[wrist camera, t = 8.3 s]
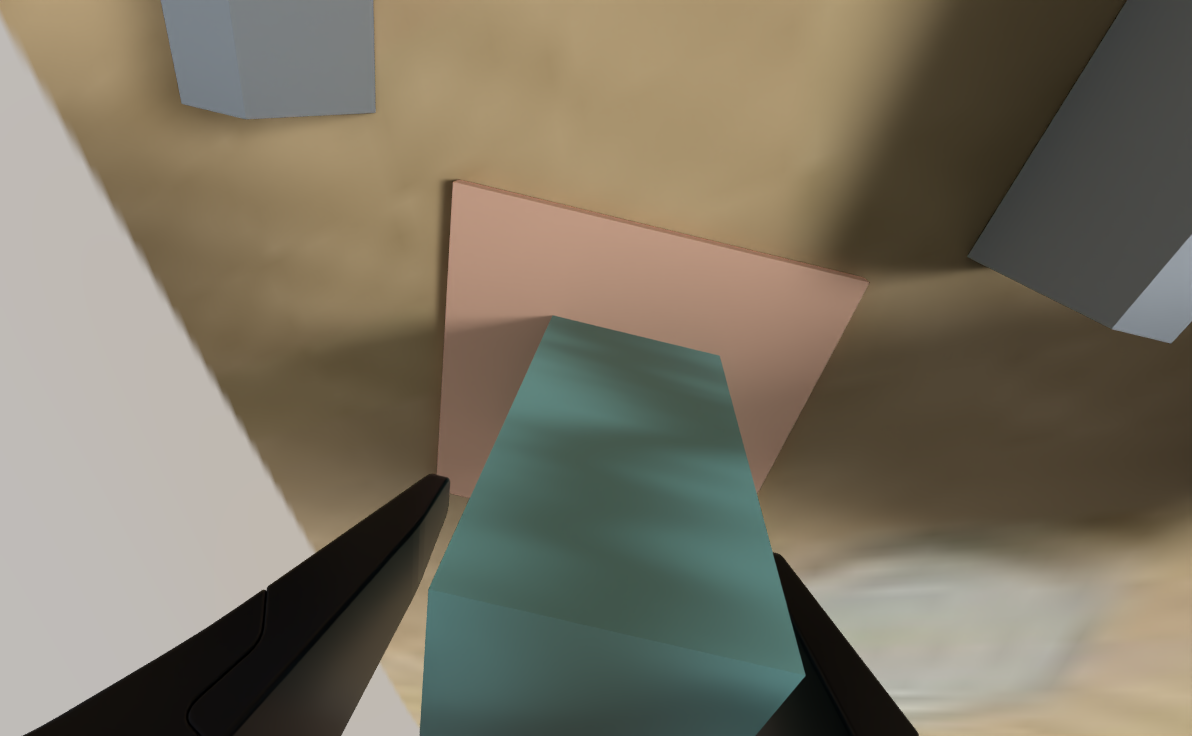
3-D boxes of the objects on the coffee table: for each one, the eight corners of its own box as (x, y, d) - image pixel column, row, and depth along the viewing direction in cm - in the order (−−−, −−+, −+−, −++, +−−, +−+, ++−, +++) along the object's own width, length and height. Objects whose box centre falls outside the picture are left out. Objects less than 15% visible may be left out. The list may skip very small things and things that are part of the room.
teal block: (719, 355, 12) (805, 675, 6) (669, 479, 15) (686, 817, 8) (552, 315, 12) (427, 589, 5) (528, 446, 15) (418, 758, 8)
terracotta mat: (863, 277, 12) (869, 282, 11) (722, 547, 17) (724, 556, 16) (459, 179, 11) (453, 181, 11) (440, 482, 16) (435, 490, 16)
